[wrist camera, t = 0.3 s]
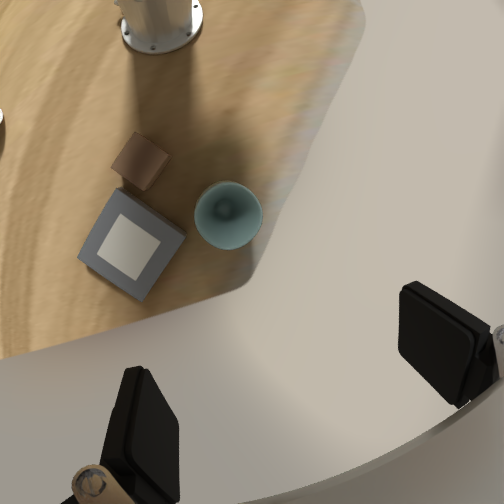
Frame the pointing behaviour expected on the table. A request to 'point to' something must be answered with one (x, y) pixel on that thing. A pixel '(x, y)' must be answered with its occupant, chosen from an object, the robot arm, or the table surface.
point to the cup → (227, 215)
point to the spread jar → (1, 115)
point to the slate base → (131, 244)
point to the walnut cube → (141, 161)
